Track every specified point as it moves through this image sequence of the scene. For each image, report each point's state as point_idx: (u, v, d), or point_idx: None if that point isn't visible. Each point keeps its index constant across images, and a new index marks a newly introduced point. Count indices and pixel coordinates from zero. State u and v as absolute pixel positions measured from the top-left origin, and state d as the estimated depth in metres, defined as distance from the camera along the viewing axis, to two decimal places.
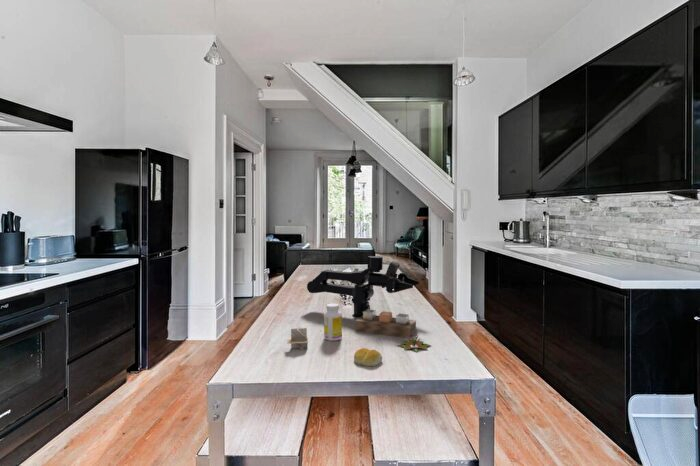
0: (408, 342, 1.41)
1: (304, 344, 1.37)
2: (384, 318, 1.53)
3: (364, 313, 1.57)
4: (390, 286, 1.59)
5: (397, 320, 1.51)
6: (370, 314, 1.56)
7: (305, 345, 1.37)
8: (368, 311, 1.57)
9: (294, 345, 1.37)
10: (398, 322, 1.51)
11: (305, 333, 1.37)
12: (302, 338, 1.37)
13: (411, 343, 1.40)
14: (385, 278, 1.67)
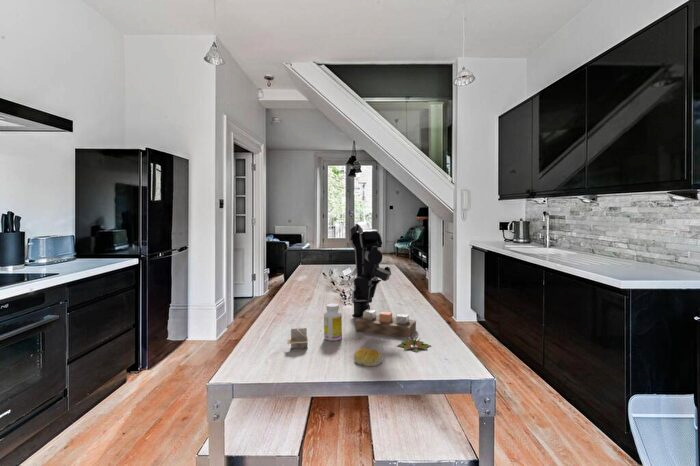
0: (408, 342, 1.41)
1: (304, 344, 1.37)
2: (384, 318, 1.53)
3: (364, 313, 1.57)
4: (359, 283, 1.49)
5: (397, 320, 1.51)
6: (370, 314, 1.56)
7: (305, 345, 1.37)
8: (368, 311, 1.57)
9: (294, 345, 1.37)
10: (398, 322, 1.51)
11: (305, 333, 1.37)
12: (302, 338, 1.37)
13: (411, 343, 1.40)
14: (370, 268, 1.54)
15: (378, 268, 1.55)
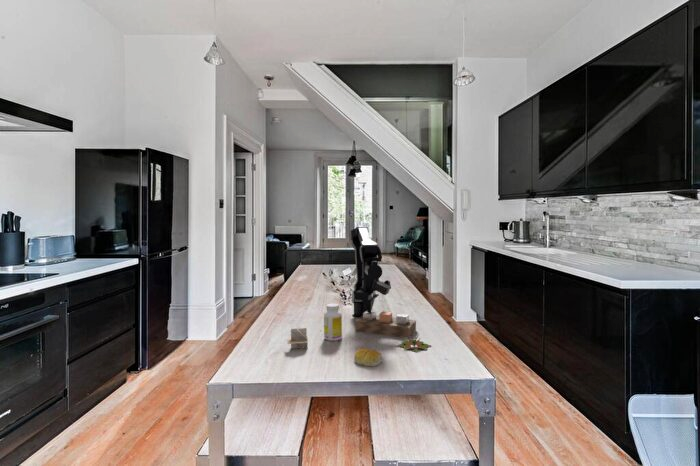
0: (408, 342, 1.41)
1: (304, 344, 1.37)
2: (384, 318, 1.53)
3: (364, 314, 1.57)
4: (359, 298, 1.49)
5: (397, 320, 1.51)
6: (370, 315, 1.56)
7: (305, 345, 1.37)
8: (368, 313, 1.57)
9: (294, 345, 1.37)
10: (398, 322, 1.51)
11: (305, 333, 1.37)
12: (302, 338, 1.37)
13: (411, 343, 1.40)
14: (370, 282, 1.54)
15: (378, 282, 1.55)
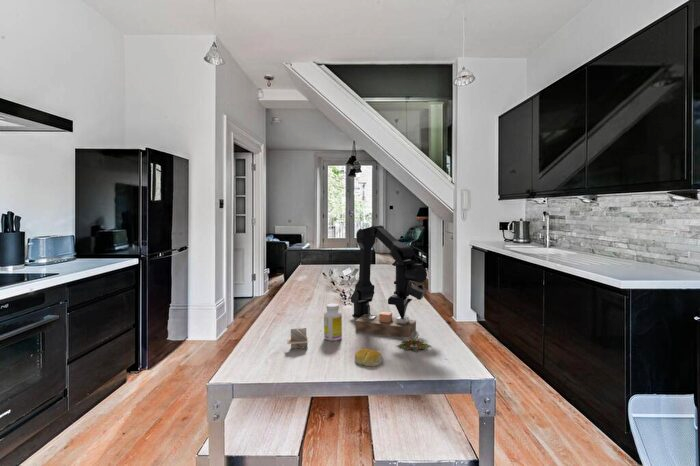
0: (408, 342, 1.41)
1: (304, 344, 1.37)
2: (384, 318, 1.53)
3: (364, 319, 1.57)
4: (394, 303, 1.43)
5: (397, 323, 1.51)
6: None
7: (305, 345, 1.37)
8: (368, 317, 1.57)
9: (294, 345, 1.37)
10: None
11: (305, 333, 1.37)
12: (302, 338, 1.37)
13: (411, 343, 1.40)
14: (404, 286, 1.48)
15: (412, 286, 1.49)
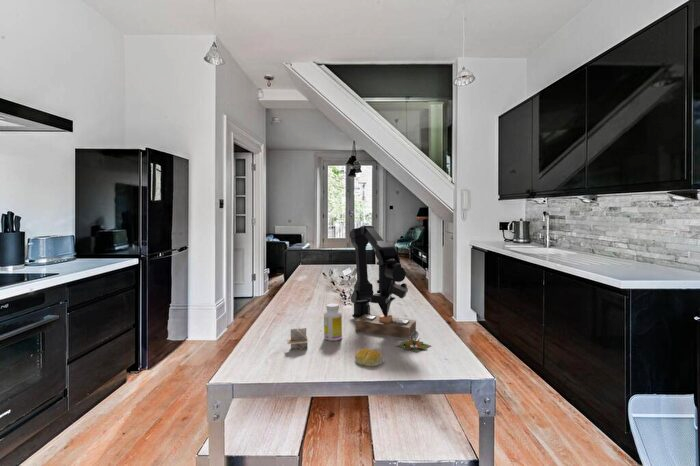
0: (408, 342, 1.41)
1: (304, 344, 1.37)
2: (384, 321, 1.53)
3: (364, 319, 1.57)
4: (376, 301, 1.46)
5: None
6: None
7: (305, 345, 1.37)
8: (368, 317, 1.57)
9: (294, 345, 1.36)
10: None
11: (305, 333, 1.37)
12: (302, 338, 1.37)
13: (411, 343, 1.40)
14: (387, 285, 1.51)
15: (395, 285, 1.52)
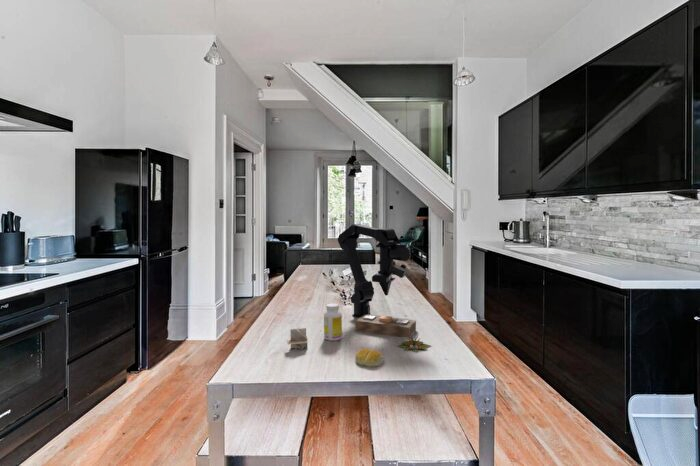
0: (408, 342, 1.41)
1: (304, 344, 1.37)
2: None
3: (364, 319, 1.57)
4: (378, 280, 1.55)
5: None
6: None
7: (305, 345, 1.37)
8: (368, 317, 1.57)
9: (294, 346, 1.36)
10: None
11: (304, 333, 1.37)
12: (302, 338, 1.37)
13: (411, 343, 1.40)
14: (387, 266, 1.60)
15: (395, 265, 1.61)
